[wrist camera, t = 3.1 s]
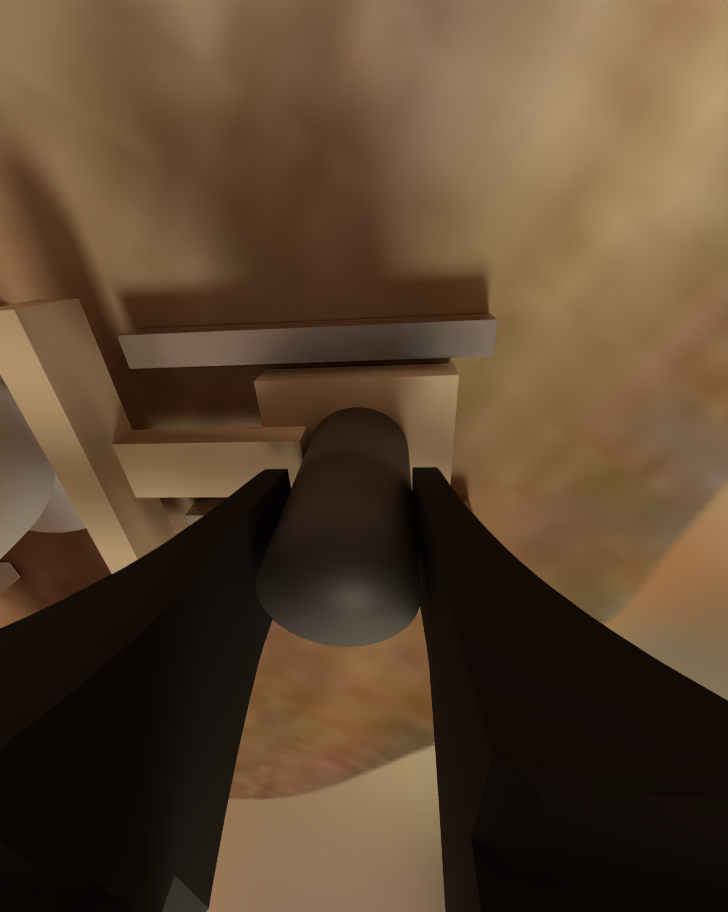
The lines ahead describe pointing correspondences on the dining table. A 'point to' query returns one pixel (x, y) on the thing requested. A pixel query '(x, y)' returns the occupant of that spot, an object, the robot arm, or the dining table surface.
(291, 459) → the pushrod
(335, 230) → the dining table surface
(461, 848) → the robot arm
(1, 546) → the teacup
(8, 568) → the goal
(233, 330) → the rail
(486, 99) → the dining table surface
